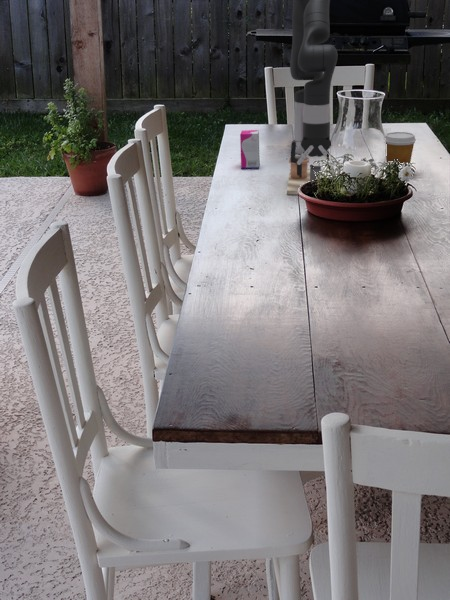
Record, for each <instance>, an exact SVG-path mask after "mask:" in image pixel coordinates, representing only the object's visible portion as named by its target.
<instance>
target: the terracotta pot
mask: <svg viewBox="0 0 450 600" xmlns="http://www.w3.org/2000/svg"><path fill="white" fill-rule="evenodd" d="M300 156H301V155H295V158H299V157H300ZM290 159H291V156H290V157H289V158H288V163H289V164H290V169H291V178H293V179H304V178H307V169H308V164H309V163H310V157H308V156H307V157H306V158H305V159H304V160H303V162H302V178H299V176H297V164H296V163H292V162H291V161H290Z"/></svg>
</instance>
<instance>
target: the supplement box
mask: <svg viewBox="0 0 450 600" xmlns="http://www.w3.org/2000/svg"><path fill="white" fill-rule="evenodd" d="M239 135H240V136H239V140H240V168H241V170H259V169H260V165H261V164H260V131H259V129H251V130H250V129H249V130H247V129H245V130H241V132H240V134H239Z"/></svg>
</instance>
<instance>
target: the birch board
mask: <svg viewBox="0 0 450 600" xmlns="http://www.w3.org/2000/svg"><path fill="white" fill-rule="evenodd" d="M311 166H312V165H310V167H309V168H307V178H304V179H293V178H291V168H290V169H289V174H288V181H287V188H286V195H298V194H297V190H298V188H299V187H300V185H302V184H303V183H306V182H308V181H312V180H315V179H316V176H315V174H314V171H315V172H316V173H317V172H318V171H322V172H323V168H322V166H321V165H313V166H314V168H312V167H311ZM313 170H314V171H313Z"/></svg>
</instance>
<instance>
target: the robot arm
mask: <svg viewBox="0 0 450 600" xmlns="http://www.w3.org/2000/svg"><path fill="white" fill-rule="evenodd" d="M292 1H293V2H292V18H291V19H292V21H291V22H292V23H291V25H292V27H291V28H292V29H291V30H292V33H291V34H292V38H291V39H292V43H291V53H290V60H289V61H290V64H289V65H290V66H289V70H290V71H289V72H290V75H291V77H292V79H293V80H296V81H307V82H305V84H304V86H303V88H302V89H299V90H297V91H295V93H294V98H293V99H294V101H293V103H294V105H293V106H294V109H293V110H294V114H293V115H294V116H293V119H294V122H293V123H294V125H293V126H294V128H293V129H294V130H293V131H294V132H293V133H294V134H293V140H291V145H290V148H291V150H290V157H291V159H290V161H291V162H292V163H296V164H297V176H299V178H302V162H303V160H304V159H305V158H306V157H308V156H309V158H310V157H312V158H313V157H319V158H320V157H321V158H322V157H323V156H324V157H325V159H326V160H327V156H326V152H327V153H328V154H329V155H330V154H331V152H330V151H329V149H330V147H332V145H331V141H332V140H331V135H330V134H331V105H330V103H331V101H330V100H331V99H330V98H331V85H332V80H333V75H334V71H335V69H336V65H337V62H338V57H339V55H338V50H337V48H336V47H335V46H334V45H332V44H323V43H325V42H327V41H328V40H329V38H330V36H331V35H330V34H331V31H330V29H331V27H330V24H331V23H330V3H331V0H292ZM296 154H297V155H299V156H300V157H299V158H295V156H296Z"/></svg>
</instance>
